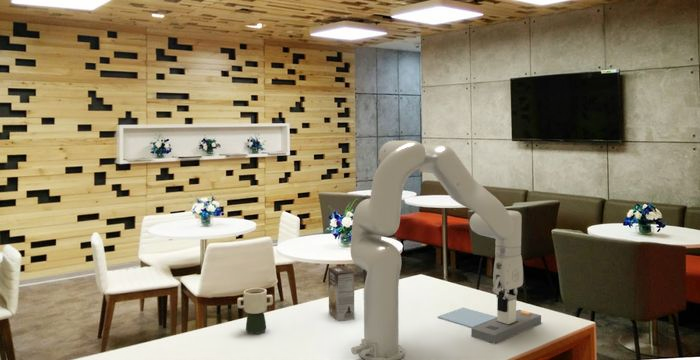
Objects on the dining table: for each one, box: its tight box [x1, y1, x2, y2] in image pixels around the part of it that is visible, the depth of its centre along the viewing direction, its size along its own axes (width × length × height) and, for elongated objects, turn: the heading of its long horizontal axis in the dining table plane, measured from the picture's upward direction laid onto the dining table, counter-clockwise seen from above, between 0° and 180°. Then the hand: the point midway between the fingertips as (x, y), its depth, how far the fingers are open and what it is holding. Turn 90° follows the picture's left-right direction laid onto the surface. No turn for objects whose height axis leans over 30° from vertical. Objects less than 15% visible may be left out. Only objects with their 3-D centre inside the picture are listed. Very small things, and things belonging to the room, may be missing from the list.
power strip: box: [470, 309, 542, 345], centre depth 172 cm, size 26×8×3 cm, turn 132°
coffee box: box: [328, 265, 355, 322], centre depth 185 cm, size 9×6×16 cm
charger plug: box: [496, 293, 517, 324], centre depth 171 cm, size 4×4×8 cm
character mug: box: [236, 287, 274, 334], centre depth 172 cm, size 11×7×13 cm, turn 108°
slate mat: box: [437, 307, 497, 329], centre depth 183 cm, size 14×14×1 cm
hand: (506, 308), depth 171 cm, fingers closed on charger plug, 4 cm apart
